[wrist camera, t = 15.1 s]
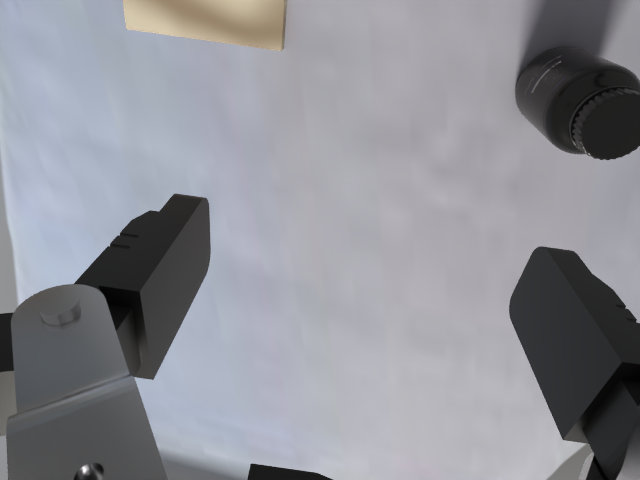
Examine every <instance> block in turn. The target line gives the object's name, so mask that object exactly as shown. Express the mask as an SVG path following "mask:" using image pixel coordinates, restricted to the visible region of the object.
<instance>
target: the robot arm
mask: <svg viewBox="0 0 640 480" xmlns="http://www.w3.org/2000/svg"><path fill="white" fill-rule="evenodd" d="M209 262H210V218H209V203H208V200H207V198H203V197H196V196H189V195H182V194H174V195H173V196H172V197H171V198H170V199H169V201H168V202H167V203H166V204H165V205H164V207H163V208H162V209H161V210H160V211H159V212H157V211H148V212H146V213H144V214H143V215H141V216H139V217H137V218H135V219H133V220H131V221H130V223H129V224H128V225H127V226H126V227H125V228H124V229H123V230H122V231H121V232H120V236H117V237H116V238H115V239H114V240H113V241H112V242H111V243H110V247H109V246H108V247H107V248H106V249H105V250H104V251H103V252H102V253H101V254H100V256H99V257H98V258H97V259H96V260H95V261H94V262H93V263H92V264H91V265H90V267H89V268H88V269H87V270H86V271H85V272H84V273H83V274H82V275H81V276H80V278H79V279H78V280H77V281H76V282H75V283H74V284H68V285H61V286H55V287H52V288H48V289H46V290H43V291H40V292H38V293H36V294H34V295H33V296H31V297H29V298H28V299H26V300H25V301H24V302H23V303H21V304H20V305H19V306H18V308H17V309H16V310H15V312H14V313H4V314H0V436H4V435H6V439H7V440H6V441H7V464H8V480H168V478H167V475H166V472H165V469H164V466H163V463H162V460H161V457H160V454H159V451H158V448H157V445H156V442H155V439H154V436H153V433H152V430H151V427H150V424H149V421H148V418H147V414H146V411H145V408H144V405H143V402H142V399H141V396H140V393H139V390H138V387H137V384H136V381H135V379H134V377H138V378H145V379H152V380H153V379H154V377H155V375H156V373H157V371H158V369H159V367H160V365H161V363H162V361H163V359H164V357H165V355H166V353H167V351H168V349H169V347H170V346H171V344H172V342H173V340H174V338H175V336H176V334H177V332H178V330H179V328H180V326H181V324H182V322H183V320H184V318H185V316H186V314H187V312H188V310H189V308H190V306H191V304H192V302H193V300H194V298H195V296H196V294H197V292H198V290H199V288H200V286H201V284H202V282H203V280H204V278H205V276H206V273H207V270H208V267H209ZM625 307H626V306H625V304H624V303H623V302H622V300H621V299H620V298H619V297H618V295H617V294H616V293H615V292H614V290H613V289H611V288H610V287H609V286H608V285H606V284H605V283H604V282H602V281H601V280H600V279H598V278H597V277H596V276H595V275H593V274H592V273H591V272H590V270H589V269H588V268H587V267H586V265H585V264H584V263H583V261H582V260H581V259H580V257H579V256H578V255H577V254H576V253H575V252H574V251H570V250H563V249H556V248H549V247H538V248H536V249H535V250H534V251H533V253H532V255H531V256H530V259H529V261H528V263H527V265H526V267H525V269H524V271H523V273H522V275H521V277H520V279H519V281H518V283H517V285H516V287H515V290H514V292H513V294H512V296H511V299H510V305H509V313H510V319H511V321H512V324H513V326H514V328H515V331H516V333H517V335H518V338H519V340H520V342H521V344H522V347H523V349H524V351H525V354H526V356H527V358H528V361H529V363H530V365H531V368H532V370H533V372H534V374H535V377H536V379H537V381H538V384H539V386H540V388H541V391H542V393H543V395H544V398H545V400H546V402H547V404H548V407H549V409H550V411H551V414H552V416H553V418H554V421H555V423H556V425H557V428H558V430H559V432H560V434H561V437H562V439H563V440H567V441H574V442H581V443H588V444H590V446H591V449H592V451H593V452H592V453H591V454H590V455H589V456H588V457H587V459H586V460H585V462H584V465H583V468H582V471H581V474H580V476H579V479H578V480H640V323H636V320H637V319H636V318H635V317H634V316H633V314H632V313H631V312H630V311H629V309H626V308H625ZM248 480H332V479H330V478H328V477H325V476H323V475H321V474H318V473H314V472H307V471H300V470H293V469H286V468H279V467H272V466H265V465H258V464H251V466H250V470H249V475H248Z"/></svg>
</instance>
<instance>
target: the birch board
mask: <svg viewBox="0 0 640 480" xmlns="http://www.w3.org/2000/svg"><path fill="white" fill-rule="evenodd" d="M123 5H124V13H125V21H126V29H129V30H137V31H144V32H151V33H158V34H165V35H172V36H179V37H186V38H193V39H200V40H207V41H214V42H221V43H228V44H236V45H243V46H250V47H257V48H264V49H271V50H278V51H282V50H283V49H284V38H285V22H286V7H287V0H123Z"/></svg>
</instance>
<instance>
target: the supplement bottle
mask: <svg viewBox="0 0 640 480" xmlns="http://www.w3.org/2000/svg"><path fill="white" fill-rule="evenodd" d="M516 103H517V106H518V108H519V110H520V112H521V113H522V114H523V116H524V117H525V118H526V119H527V120H528V121H529V122H530V123H531V124H532V125H534V126H535V127H536V128H537V129H538V130H539V131H540V132H541V133H542V134H543V135H544V136H545V137H546V138H547V139H548V140H549V141H550V142H551V143H552V144H553V145H555V146H556V147H557V148H559V149H560V150H562V151H565V152H568V153H572V154H587V155H588V156H592V157H593V158H596V159H597V158H598V159H600V160H603V159H606V160H610V159H616V158H618V157H623V156H624V155H627V154H629V153H631V152H632V151H634V150H636V149H637V148H638V147H639V146H640V80H639V79H638V78H637V76H636V75H635V74H634V73H633V72H631V71H630V70H628V69H626V68H625V67H622V66H620V65H618V64H615V63H613V62H610V61H608V60H605V59H603V58H600V57H598V56H596V55H593V54H591V53H588V52H586V51H583V50H580V49H577V48H573V47H559V48H554V49H551V50H549V51H546V52H544V53H542V54H541V55H539V56H538V57H536V58H535V59H534V60H533V61H531V62H530V63H529V64H528V66H527V67H526V68H525V69H524V71H523V72H522V74H521V76H520V78H519V80H518V83H517V87H516Z"/></svg>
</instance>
